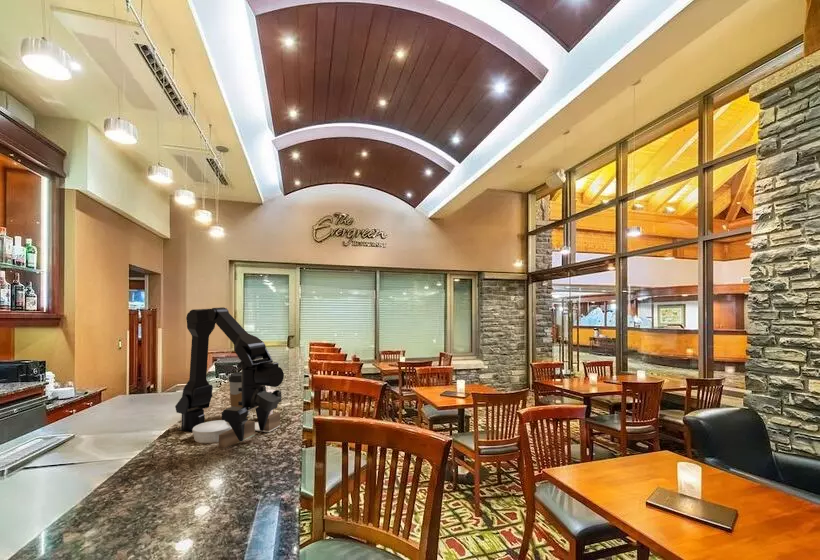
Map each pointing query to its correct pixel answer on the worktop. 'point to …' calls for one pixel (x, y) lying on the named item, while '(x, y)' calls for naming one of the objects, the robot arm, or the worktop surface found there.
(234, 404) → the coffee cup
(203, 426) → the ramekin
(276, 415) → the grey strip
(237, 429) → the robot arm
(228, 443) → the wooden handled dough scraper
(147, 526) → the worktop surface
